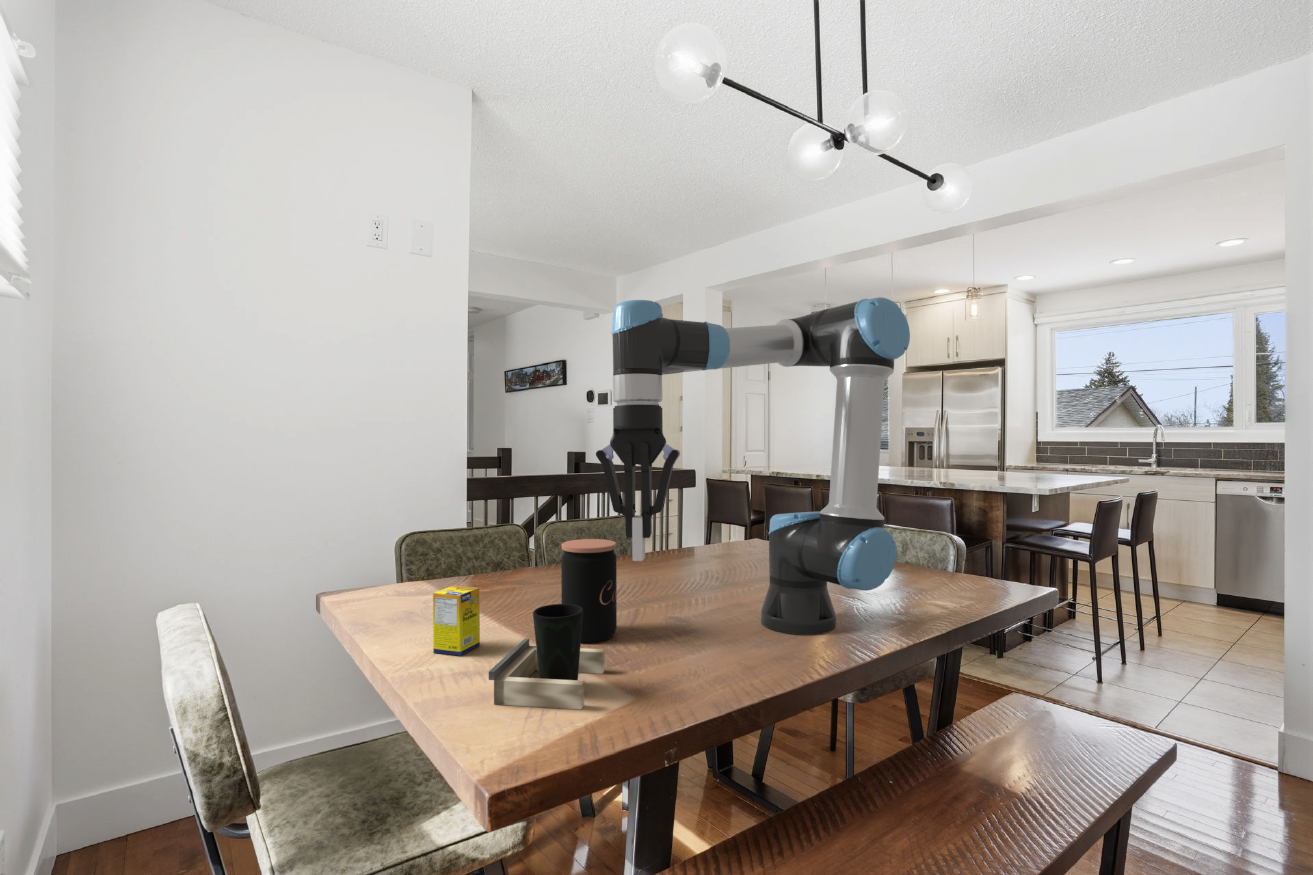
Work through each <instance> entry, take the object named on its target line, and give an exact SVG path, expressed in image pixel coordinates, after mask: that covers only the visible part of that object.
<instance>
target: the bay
mask: <svg viewBox="0 0 1313 875" xmlns="http://www.w3.org/2000/svg"><path fill="white" fill-rule="evenodd" d="M605 652H606V651H605V648H583V647H580V658H579V671H578V674H579V673H580V674H581V673H582V674H596V675H597V674H598V675H599V674H600V675H602V674H604V673H605V670H606V668H605V663H606V662H605V660H606V658H605V655H606V654H605ZM536 671H538V672H539V668H538V658H537V649H536V645H530V638H524V639H522V640H521V642H519V643H518V644H517V645H516V646H515V647H513V649H511V651H509V653H507V654H506V655H505V656H503V658H502V659H501V660H500V661H499V662H498V663H496V664H495V665H494V666H493V667H492V668H491V669H490V670H489V671H488V681H493V705H497V706H499V705H500V706H512V707H513V706H514V707H515V706H516V707H533V708H548V709H549V708H551V709H567V710H583V708H584V706H585V680H579V679H578V680H559V679H540V678H538V677H535V678H534V677H530V676H531V675H532V674H533V673H534V672H536Z"/></svg>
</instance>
